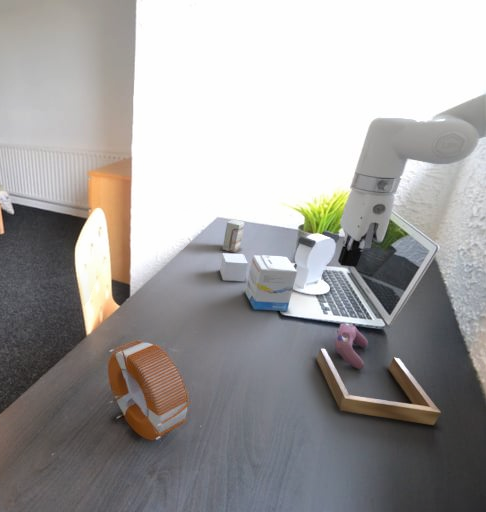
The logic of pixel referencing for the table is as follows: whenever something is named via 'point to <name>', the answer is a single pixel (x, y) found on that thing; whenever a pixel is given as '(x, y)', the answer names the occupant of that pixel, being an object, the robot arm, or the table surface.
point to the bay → (416, 412)
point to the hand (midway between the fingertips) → (347, 264)
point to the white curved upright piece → (313, 262)
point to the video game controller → (350, 344)
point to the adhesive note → (233, 267)
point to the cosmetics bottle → (233, 235)
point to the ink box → (270, 282)
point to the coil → (147, 389)
